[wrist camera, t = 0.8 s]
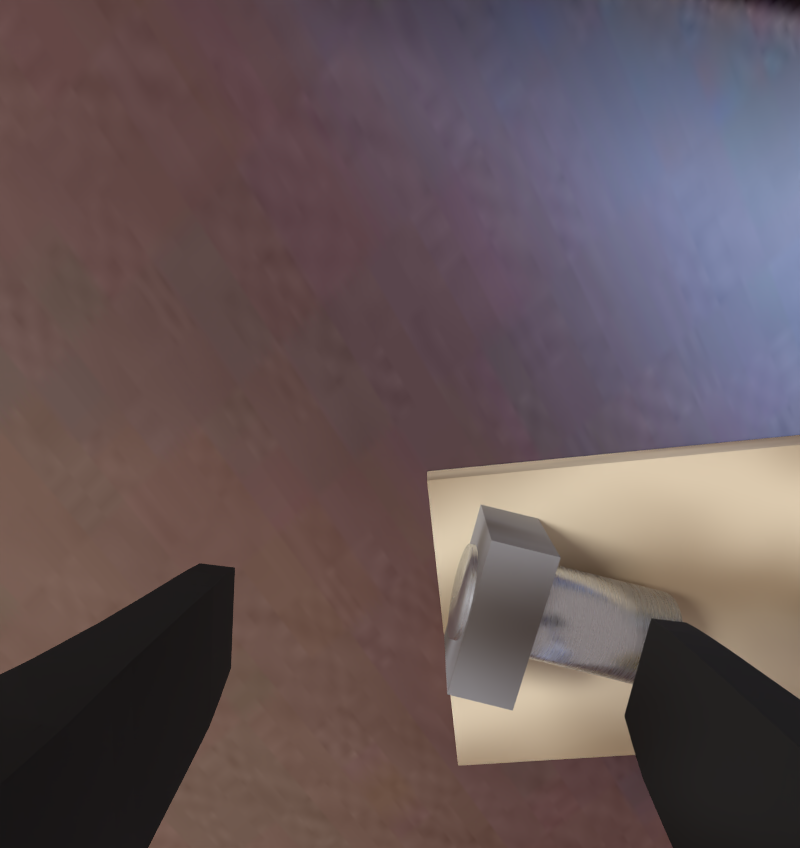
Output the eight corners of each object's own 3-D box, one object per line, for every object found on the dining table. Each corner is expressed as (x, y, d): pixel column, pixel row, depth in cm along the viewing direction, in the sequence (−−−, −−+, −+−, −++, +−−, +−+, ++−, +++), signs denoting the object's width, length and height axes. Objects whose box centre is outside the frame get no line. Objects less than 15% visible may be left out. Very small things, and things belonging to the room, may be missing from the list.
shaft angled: (652, 575, 19) (695, 621, 16) (626, 652, 19) (662, 711, 16) (468, 530, 19) (475, 567, 16) (446, 608, 19) (449, 659, 16)
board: (987, 707, 20) (1140, 811, 16) (456, 741, 22) (463, 845, 17) (1009, 414, 18) (1188, 441, 14) (426, 471, 20) (427, 512, 15)
